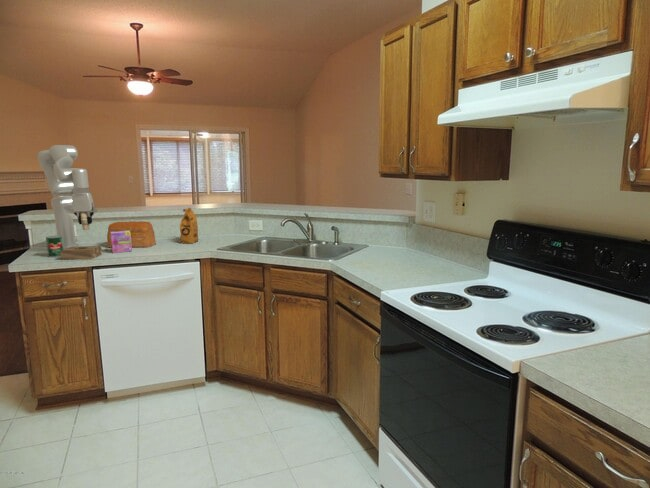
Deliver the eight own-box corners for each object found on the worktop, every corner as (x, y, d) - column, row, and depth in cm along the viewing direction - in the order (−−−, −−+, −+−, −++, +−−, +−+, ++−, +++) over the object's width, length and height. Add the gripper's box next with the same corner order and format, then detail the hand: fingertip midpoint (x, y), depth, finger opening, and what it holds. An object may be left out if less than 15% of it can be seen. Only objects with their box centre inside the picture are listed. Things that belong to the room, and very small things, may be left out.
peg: (84, 229, 256) (82, 211, 254) (91, 228, 256) (89, 211, 254) (80, 230, 252) (78, 212, 250) (88, 230, 252) (86, 212, 250)
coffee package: (178, 243, 286) (175, 209, 282) (186, 240, 298) (183, 207, 294) (193, 244, 285) (191, 209, 281) (200, 240, 297) (198, 207, 293)
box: (112, 253, 259) (110, 233, 257) (112, 251, 264) (110, 231, 262) (132, 251, 264) (130, 231, 262) (131, 249, 269) (129, 230, 267)
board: (73, 255, 255) (72, 246, 254) (101, 254, 256) (100, 246, 255) (61, 259, 244) (60, 250, 243) (91, 259, 244) (90, 250, 243)
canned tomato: (59, 253, 260) (57, 234, 258) (67, 255, 256) (65, 235, 254) (45, 256, 253) (42, 237, 251) (53, 257, 249) (50, 238, 247)
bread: (149, 247, 276) (147, 223, 273) (105, 248, 276) (103, 223, 273) (157, 243, 289) (155, 220, 286) (116, 243, 289) (113, 220, 287)
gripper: (62, 192, 246) (66, 225, 250) (94, 191, 247) (97, 224, 250) (69, 191, 254) (73, 223, 257) (100, 190, 254) (103, 222, 258)
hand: (85, 223), depth 254 cm, fingers closed on peg, 4 cm apart
